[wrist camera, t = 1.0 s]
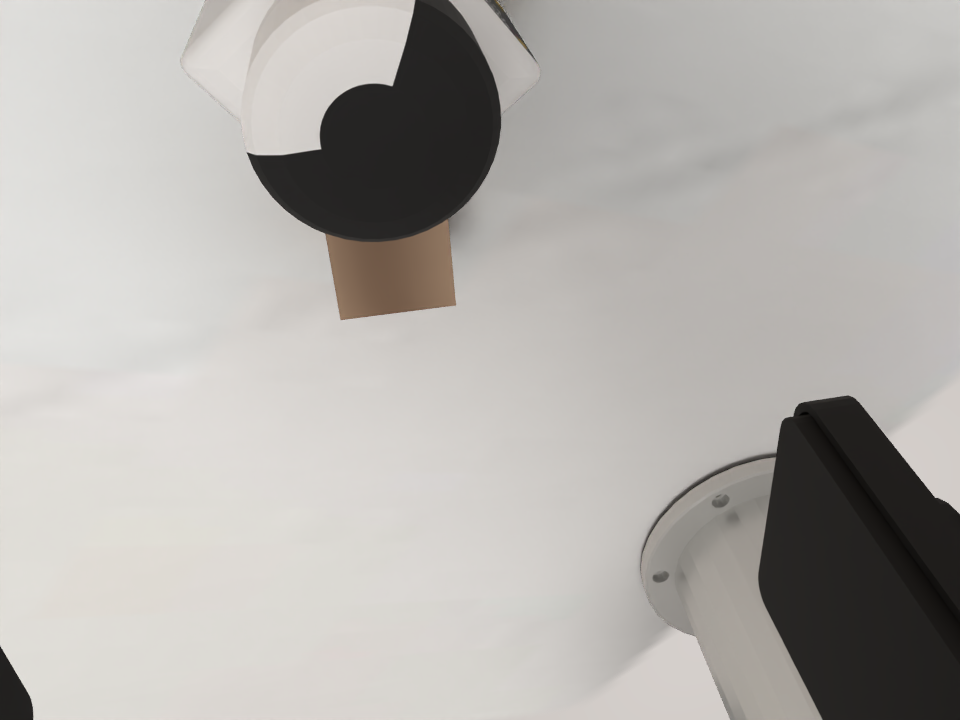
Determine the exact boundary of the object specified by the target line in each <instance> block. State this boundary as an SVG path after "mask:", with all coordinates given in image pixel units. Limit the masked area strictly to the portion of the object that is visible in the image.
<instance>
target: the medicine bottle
mask: <svg viewBox="0 0 960 720" xmlns="http://www.w3.org/2000/svg"><path fill="white" fill-rule="evenodd" d="M180 61H181V67H182V69H183V70H184V72H185V73H186V74H187V75H188V76H189V77H190V78H191V79H192V80H193V81H194V82H195V83H197V84H198V85H199V86H200V87H201V88H202V89H203V90H204V91H205V92H207V93H208V94H209V95H210V96H211V97H212V98H213V99H214V100H215V101H217V102H218V103H219V104H220V105H221V106H222V107H223V108H224V109H226V110H227V111H228V112H229V113H230V114H231V115H232V116H233V117H234V118H236V119H237V120H238V121H239V122H240V123H241V124H242V134H243V139H244V143H245V147H246V151H247V154H248V156H249V159H250V161H251V164H252V166H253V169H254V171H255V172H256V174H257V176H258V177H259V179H260V181H261V183H262V184H263V186H264V187H265V188H266V189H267V191H268V192H269V193H270V195H271V196H272V197H273V198H274V199H275V200H276V201H277V202H278V203H279V204H280V205H281V206H282V207H283V208H284V209H285V210H286V211H288V212H289V213H290V214H291V215H293V216H294V217H295V218H297V219H298V220H300V221H301V222H303V223H305V224H307V225H308V226H310V227H312V228H314V229H316V230H318V231H321V232H323V233H326V234H328V235H331V236H335V237H339V238H342V239H346V240H353V241H360V242H384V241H393V240H399V239H403V238H407V237H411V236H414V235H417V234H420V233H422V232H425V231H428V230H429V229H431V228H433V227H435V226H437V225H439V224H441V223H443V222H444V221H445V220H447V219H448V218H450V217H451V216H452V215H454V214H455V213H456V212H457V211H459V210H460V209H461V208H462V207H463V206H464V205H465V204H466V203H467V202H468V201H469V200H470V199H471V197H472V196H473V195H474V194H475V193H476V191H477V190H478V189H479V187H480V186H481V184H482V182H483V181H484V179H485V178H486V176H487V174H488V172H489V170H490V167H491V165H492V163H493V161H494V158H495V154H496V151H497V147H498V144H499V137H500V129H501V115H502V114H503V113H504V112H505V111H506V110H507V109H508V108H509V107H510V106H512V105H513V104H514V103H515V102H516V101H517V100H518V99H519V98H521V97H522V96H523V95H524V94H525V93H526V92H527V91H528V90H529V89H531V88H532V87H533V86H534V85H535V84H536V83H537V82H538V80H539V79H540V72H541V69H540V67H539V65H538V63H537V61H536V60H535V58H534V57H533V55H532V54H531V52H530V51H529V49H528V48H527V46H526V44H525V43H524V41H523V40H522V38H521V37H520V35H519V34H518V32H517V30H516V29H515V27H514V26H513V24H512V23H511V21H510V20H509V18H508V16H507V15H506V13H505V12H504V10H503V9H502V7H501V6H500V5H499V4H498V2H497V1H496V0H205V2H204V5H203V7H202V9H201V12H200V14H199V16H198V19H197V21H196V24H195V26H194V28H193V31H192V33H191V35H190V38H189V40H188V42H187V45H186V47H185V49H184V52H183V54H182V57H181V59H180Z"/></svg>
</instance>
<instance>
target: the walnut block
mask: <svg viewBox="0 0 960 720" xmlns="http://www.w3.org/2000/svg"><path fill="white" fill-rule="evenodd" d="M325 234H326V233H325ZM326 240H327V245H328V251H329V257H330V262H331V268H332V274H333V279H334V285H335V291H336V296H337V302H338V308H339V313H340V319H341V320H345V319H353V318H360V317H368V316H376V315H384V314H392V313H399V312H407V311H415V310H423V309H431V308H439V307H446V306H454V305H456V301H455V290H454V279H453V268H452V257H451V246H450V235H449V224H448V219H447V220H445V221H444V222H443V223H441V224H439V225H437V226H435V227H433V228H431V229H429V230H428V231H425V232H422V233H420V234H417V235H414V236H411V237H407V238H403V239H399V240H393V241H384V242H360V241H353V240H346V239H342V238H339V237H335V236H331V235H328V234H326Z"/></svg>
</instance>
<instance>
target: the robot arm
mask: <svg viewBox="0 0 960 720" xmlns="http://www.w3.org/2000/svg"><path fill="white" fill-rule="evenodd" d="M641 576H642V583H643V587H644V589H645V592H646V594H647V597H648V600H649V602H650V604H651V606H652V607H653V609H654V610H655V612H656V613H657V615H658V616H659V617H660V618H662V619H663V620H664V621H665V622H666V623H667V624H669V625H670V626H672V627H674V628H676V629H678V630H680V631H682V632H684V633H687V634H690V635H693V636H696V638H697V640H698V643H699V645H700V647H701V650H702V652H703V655H704V657H705V659H706V662H707V664H708V667H709V669H710V672H711V674H712V677H713V679H714V681H715V684H716V686H717V688H718V691H719V694H720V696H721V698H722V701H723V703H724V706H725V708H726V710H727V713H728V715H729V718H730V720H960V514H959V513H958V512H957V511H956V510H955V509H954V508H953V507H952V506H951V505H949V503H947V502H945V501H943V500H941V499H939V498H935V497H934V496H933V495H932V493H931V492H930V491H929V490H928V489H927V487H926V486H925V485H924V483H923V482H922V481H921V480H920V478H919V477H918V476H917V475H916V473H915V472H914V471H913V470H912V468H911V467H910V466H909V465H908V463H907V462H906V461H905V459H904V458H903V457H902V456H901V454H900V453H899V452H898V451H897V449H896V448H895V447H894V446H893V444H892V443H891V442H890V441H889V439H888V438H887V437H886V436H885V434H884V433H883V432H882V431H881V429H880V428H879V427H878V426H877V424H876V423H875V422H874V421H873V419H872V418H871V417H870V416H869V414H868V413H867V412H866V411H865V409H864V408H863V407H862V405H861V404H860V403H859V402H858V401H857V400H856V399H855V398H853V397H851V396H842V397H835V398H829V399H822V400H816V401H809V402H803V403H800V404H799V405H798V406H797V407H796V409H795V412H794V416H793V417H788V418H785V419H784V420H783V421H782V424H781V428H780V434H779V441H778V447H777V454H776V457H774V458H767V459H760V460H756V461H753V462H749V463H746V464H742V465H739V466H736V467H733V468H731V469H729V470H726V471H724V472H722V473H720V474H717V475H715V476H713V477H711V478H710V479H708V480H706V481H705V482H703V483H701V484H700V485H698V486H696V487H695V488H693V489H692V490H690V491H689V492H688V493H687V494H686V495H684V496H683V497H682V498H681V499H679V500H678V501H677V502H676V503H675V504H674V505H673V506H672V507H671V508H670V509H669V510H668V511H667V512H666V513H665V514H664V516H663V517H662V518H661V519H660V520H659V522H658V523H657V525H656V526H655V528H654V529H653V531H652V533H651V534H650V536H649V538H648V540H647V543H646V546H645V548H644V551H643V554H642V562H641ZM0 720H33V707H32V702H31V699H30V696H29V694H28V692H27V691H26V689H25V687H24V686H23V684H22V682H21V681H20V679H19V677H18V676H17V674H16V672H15V670H14V669H13V667H12V665H11V664H10V662H9V660H8V659H7V657H6V655H5V654H4V652H3V650H2V648H1V647H0Z"/></svg>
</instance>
